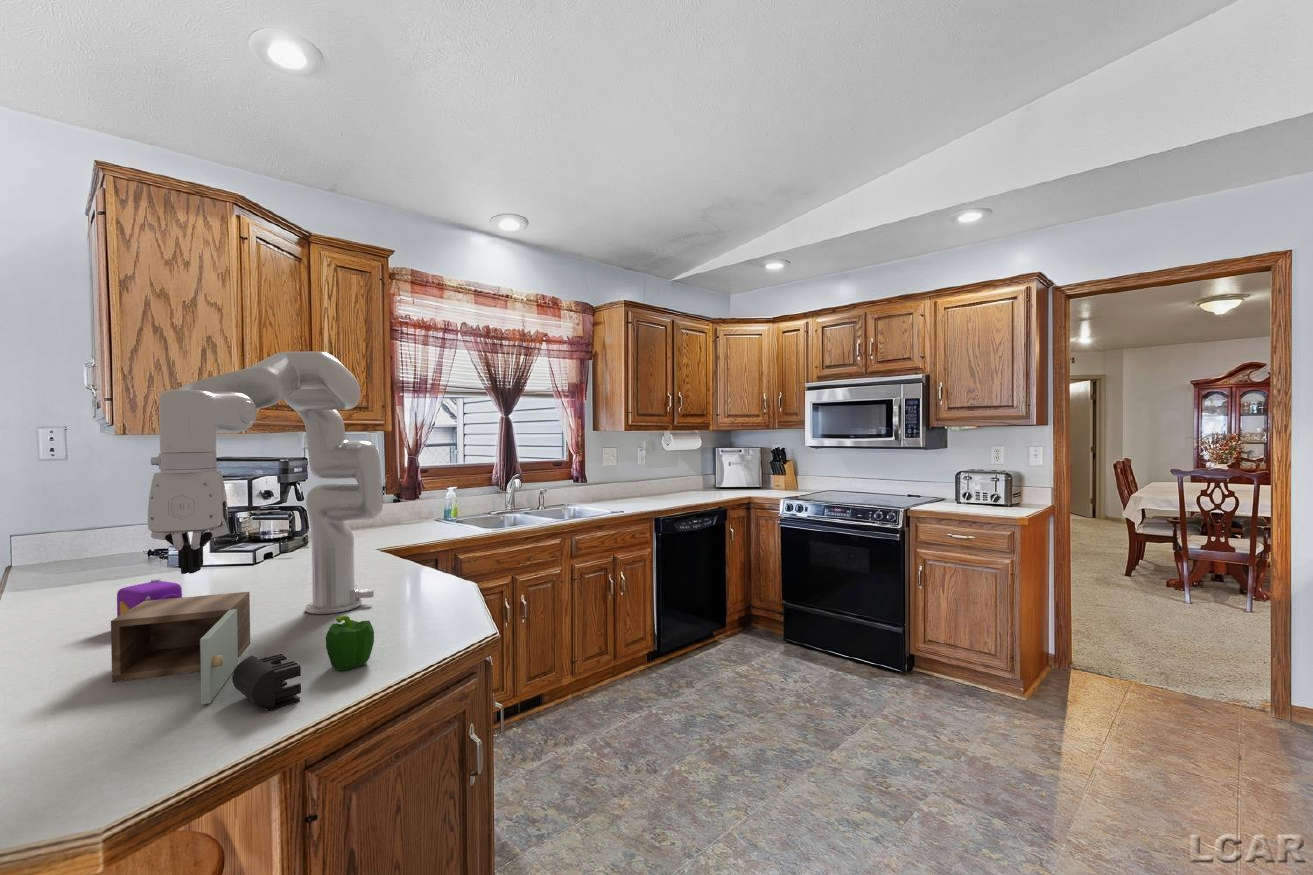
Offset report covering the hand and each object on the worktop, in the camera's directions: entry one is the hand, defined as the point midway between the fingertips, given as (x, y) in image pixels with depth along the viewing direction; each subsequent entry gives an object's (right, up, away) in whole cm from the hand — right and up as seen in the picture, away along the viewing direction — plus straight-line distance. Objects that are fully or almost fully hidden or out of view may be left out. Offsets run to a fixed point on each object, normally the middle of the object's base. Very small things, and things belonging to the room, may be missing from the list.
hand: (191, 571), depth 102 cm
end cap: (+14, -21, -2) cm, 26 cm away
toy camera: (-38, -21, +39) cm, 58 cm away
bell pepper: (+20, -21, +13) cm, 32 cm away
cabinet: (-13, -21, +16) cm, 30 cm away
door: (+2, -21, +5) cm, 21 cm away
